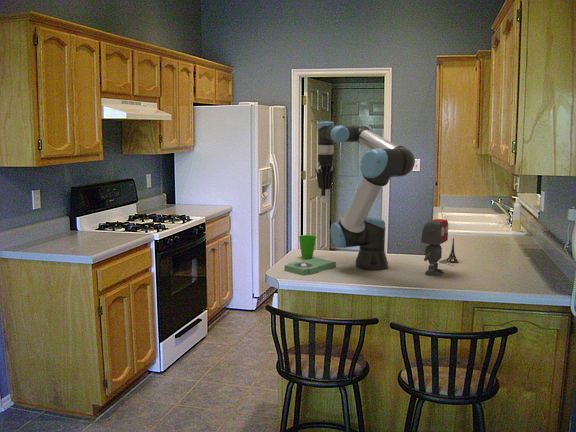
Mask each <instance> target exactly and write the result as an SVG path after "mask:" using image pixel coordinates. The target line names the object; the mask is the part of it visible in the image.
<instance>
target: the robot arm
mask: <svg viewBox="0 0 576 432" xmlns="http://www.w3.org/2000/svg"><path fill="white" fill-rule="evenodd" d="M317 130H318V132H317V135H318V136H317V144H318V146H317V147H318V149H317V163H318V168H315V173H316V179H317V184H318V185H317V187H318V189H320V190H321V193H320V194H321V203H323V204H324V203H325V204H326V203H329V190H331V188H332V186H333V181H334V176H335V172H336V167H333V162H334V152H335V151H334V150H335V148H334V146H335V143H337V144H339V143H340V144H341V143H358V144H360V145H362V146H364V147H365V148H367V149H368V150H367V151H366V152H364V154H363V155H362V158H361V160H360V164H361V165H360V172H361V175H362V180H361V182H360V183H359V184H360V185H359V187H358V189H357V190H356V192H355V195H354V197H353V200H352V201H351V203H350V204H349V205H350V206H349V208H348V210H347V211H346V213H345V214H343V215H341V217H340V219H339V221H335V222H333V223H332V224H331V225H330V238H331V241H332V243H333V246H335V247H337V248H341V249H342V248H343V249H345V248H353V247H359V250H358V253H357V256H356V259H355V267H356V268H358V269H361V270H368V271H381V270H385V269H387V268H388V266H389V261H388V259H387V254H386V252H385V251H386V249H385V247H386V246H385V245H386V244H385V243H386V222H385V220H384V219H380V218H377V217H371V216H370V217H368V215H369V213H370V211H371V209H372V207H373V205H374V203H375V201H376V199H377V198H378V196H379V193H380V191H381V189H382V187H385V186H387V185H388V183H389V181H390V180H391V178H398V177H405V176H407V175H409V174H410V173H411V172H412V171H413V169H414V168H415V164H416V159H415V154H414V153H413V152H412V150H410V148H407V147H406V146H403V145H400V144H399V145H397V144H395V143H394V142H391V141H390V140H388V139H386V138H384V137H382V136H381V135H378V134H376V133H375V132H374V130H373V128H372V127H371V126H369V125H368V126H367V125H335V122H334V121H319V122H318V129H317Z"/></svg>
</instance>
